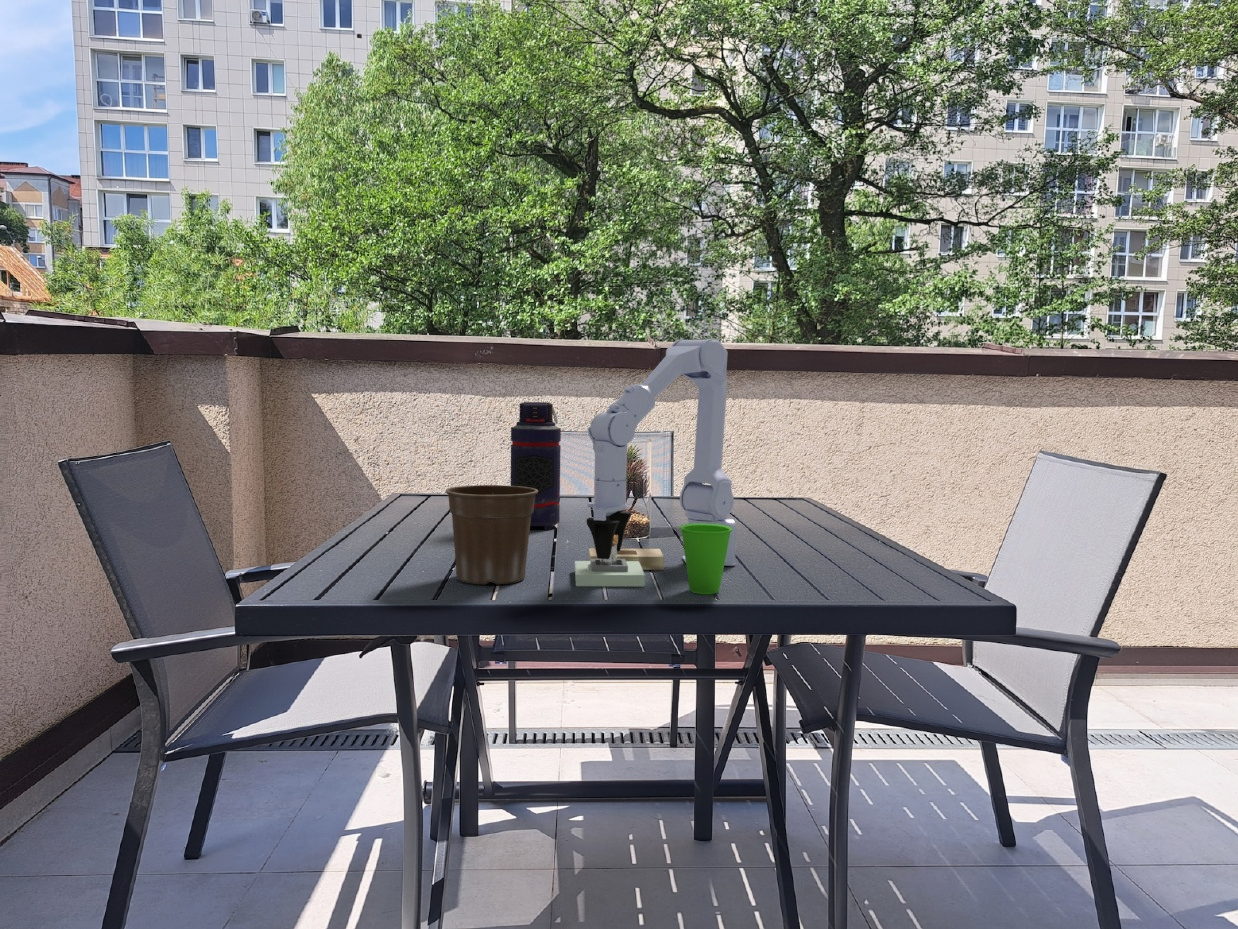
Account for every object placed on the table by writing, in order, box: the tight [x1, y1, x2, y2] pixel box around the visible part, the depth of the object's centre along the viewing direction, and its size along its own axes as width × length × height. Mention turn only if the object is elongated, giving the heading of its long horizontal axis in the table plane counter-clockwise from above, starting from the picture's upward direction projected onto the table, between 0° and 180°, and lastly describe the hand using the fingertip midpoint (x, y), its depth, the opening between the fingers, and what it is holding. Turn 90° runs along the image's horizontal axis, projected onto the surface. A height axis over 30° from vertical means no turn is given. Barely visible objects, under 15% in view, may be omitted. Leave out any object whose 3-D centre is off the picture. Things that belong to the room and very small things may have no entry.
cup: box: [679, 523, 733, 595], centre depth 156 cm, size 9×9×11 cm
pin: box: [600, 534, 618, 565], centre depth 164 cm, size 3×3×8 cm
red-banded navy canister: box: [510, 401, 562, 531], centre depth 219 cm, size 14×12×30 cm
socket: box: [574, 559, 646, 587], centre depth 164 cm, size 12×12×3 cm
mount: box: [588, 547, 665, 571], centre depth 176 cm, size 14×8×2 cm, turn 94°
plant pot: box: [445, 484, 538, 585], centre depth 162 cm, size 16×16×16 cm
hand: (609, 554), depth 164 cm, fingers open, 7 cm apart
